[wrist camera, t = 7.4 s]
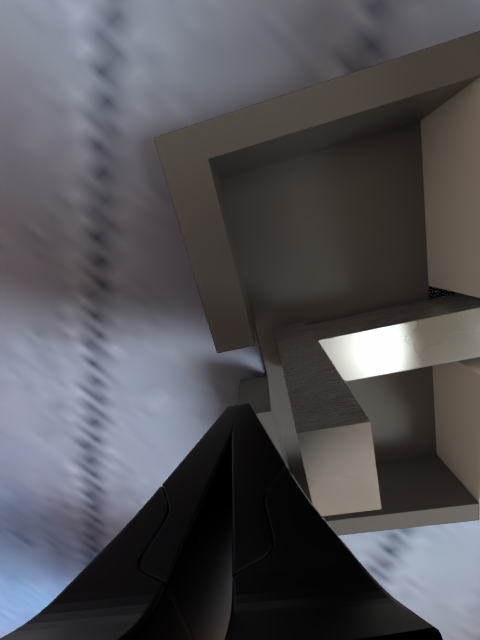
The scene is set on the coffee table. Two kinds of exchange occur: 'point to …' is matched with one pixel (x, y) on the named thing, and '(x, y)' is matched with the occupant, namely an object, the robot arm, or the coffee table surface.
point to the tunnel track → (348, 254)
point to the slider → (355, 363)
